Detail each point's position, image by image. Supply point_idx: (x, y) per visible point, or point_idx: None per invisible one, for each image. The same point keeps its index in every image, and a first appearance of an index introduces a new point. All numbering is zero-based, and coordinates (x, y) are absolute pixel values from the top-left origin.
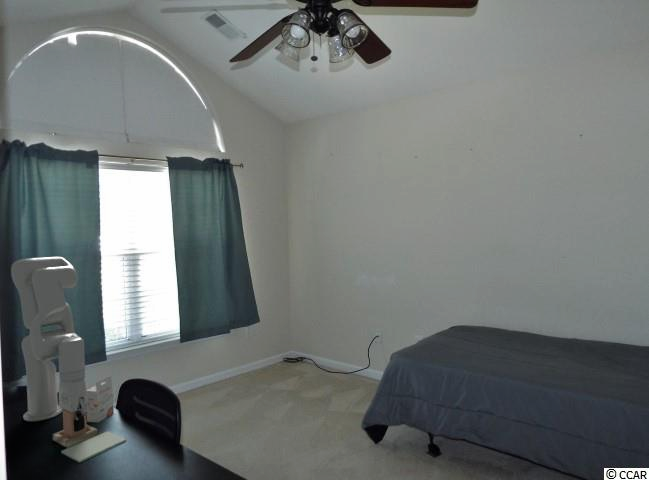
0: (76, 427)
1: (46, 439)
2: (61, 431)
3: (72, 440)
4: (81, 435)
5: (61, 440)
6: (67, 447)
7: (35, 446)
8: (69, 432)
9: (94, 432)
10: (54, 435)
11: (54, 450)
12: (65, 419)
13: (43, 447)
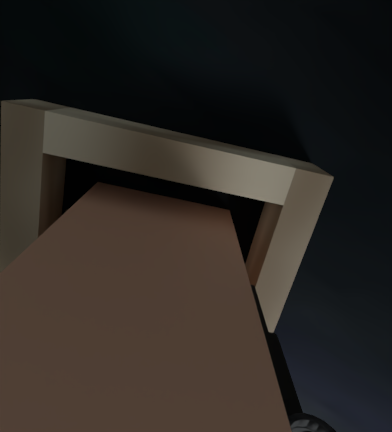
0: None
1: (385, 153)
2: (288, 246)
3: (8, 156)
4: (8, 248)
5: (139, 128)
6: (34, 99)
7: (383, 7)
8: (105, 220)
9: None
10: (291, 166)
11: (106, 13)
12: (176, 329)
13: (277, 21)
